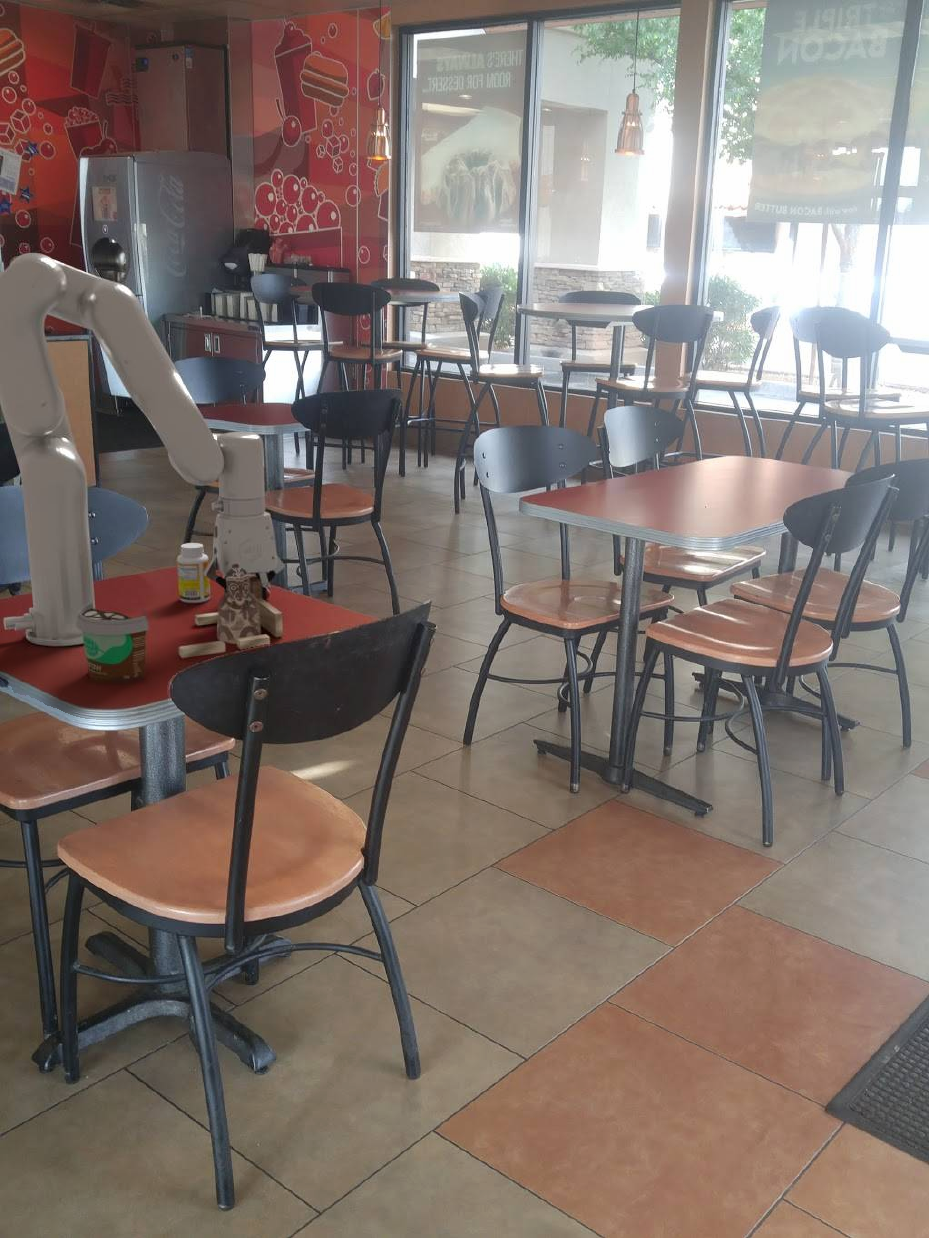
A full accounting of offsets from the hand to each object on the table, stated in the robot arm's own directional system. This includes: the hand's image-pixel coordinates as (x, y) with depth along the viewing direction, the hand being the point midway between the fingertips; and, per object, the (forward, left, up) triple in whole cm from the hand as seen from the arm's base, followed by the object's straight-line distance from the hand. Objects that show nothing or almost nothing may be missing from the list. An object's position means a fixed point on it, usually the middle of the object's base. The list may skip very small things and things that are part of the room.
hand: (246, 608), depth 204 cm
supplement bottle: (-5, +15, -2) cm, 16 cm away
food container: (-29, -19, -2) cm, 34 cm away
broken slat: (-9, -14, -2) cm, 17 cm away
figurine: (-5, -9, -2) cm, 10 cm away
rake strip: (-3, -5, -2) cm, 6 cm away
